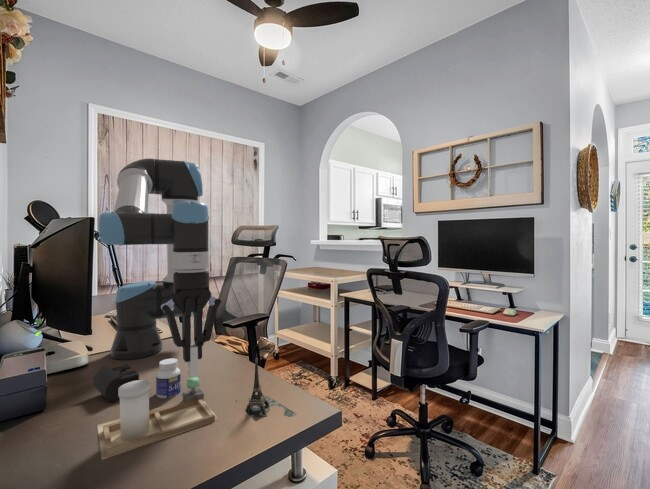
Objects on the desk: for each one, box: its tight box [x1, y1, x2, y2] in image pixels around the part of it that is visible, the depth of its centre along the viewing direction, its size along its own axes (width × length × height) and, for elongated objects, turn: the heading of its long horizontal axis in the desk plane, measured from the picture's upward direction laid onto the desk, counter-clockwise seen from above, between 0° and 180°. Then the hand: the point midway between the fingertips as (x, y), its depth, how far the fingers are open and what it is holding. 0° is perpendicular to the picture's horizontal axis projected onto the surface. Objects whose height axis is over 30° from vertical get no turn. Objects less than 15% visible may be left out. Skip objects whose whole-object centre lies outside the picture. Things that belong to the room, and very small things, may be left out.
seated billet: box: [118, 379, 151, 442], centre depth 63 cm, size 5×5×9 cm
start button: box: [186, 376, 200, 394], centre depth 76 cm, size 3×3×4 cm
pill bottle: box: [155, 358, 182, 399], centre depth 80 cm, size 5×5×9 cm
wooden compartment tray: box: [96, 387, 220, 461], centre depth 67 cm, size 13×20×3 cm, turn 127°
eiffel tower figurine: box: [234, 352, 297, 418], centre depth 74 cm, size 15×10×13 cm
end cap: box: [92, 364, 140, 404], centre depth 80 cm, size 10×7×7 cm
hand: (192, 374), depth 75 cm, fingers closed
